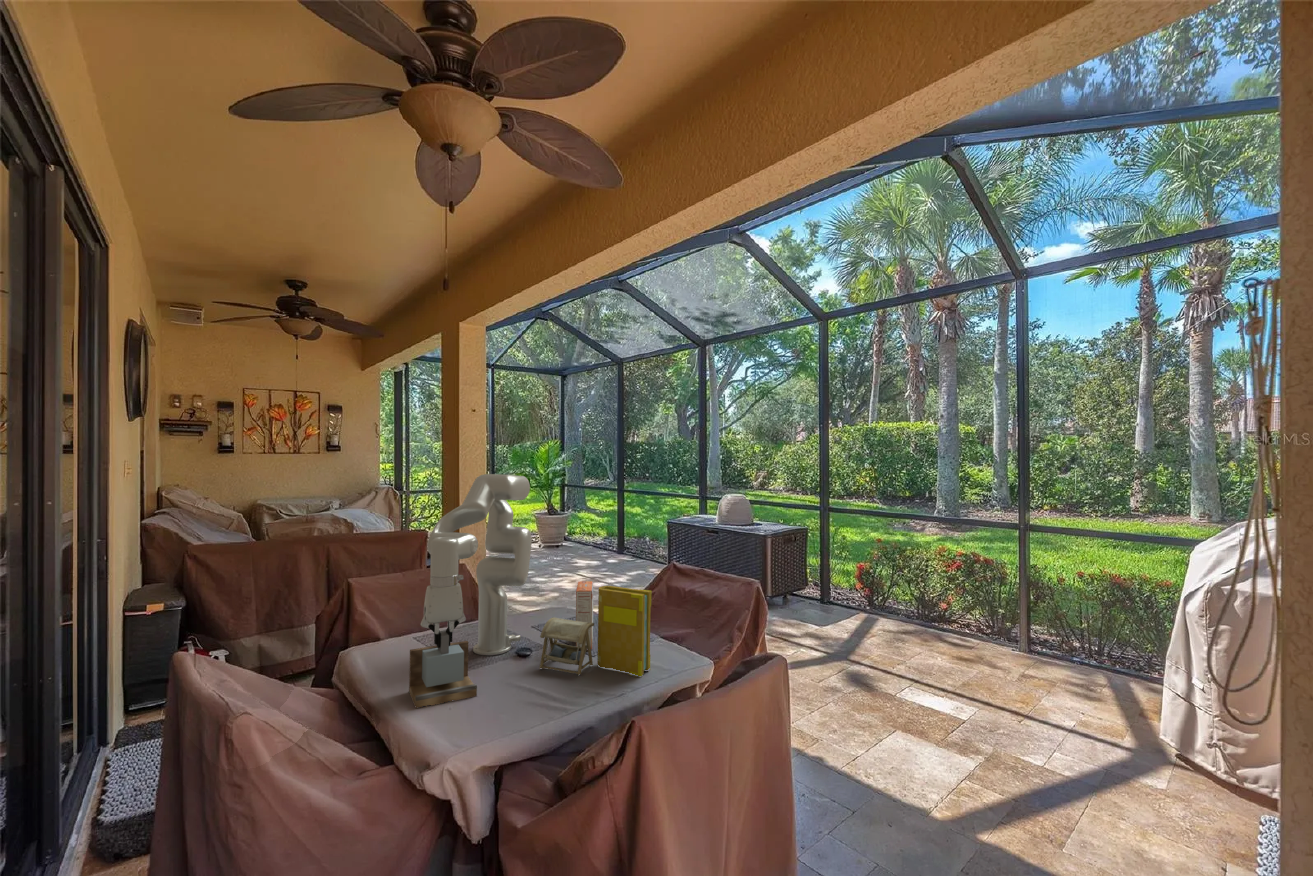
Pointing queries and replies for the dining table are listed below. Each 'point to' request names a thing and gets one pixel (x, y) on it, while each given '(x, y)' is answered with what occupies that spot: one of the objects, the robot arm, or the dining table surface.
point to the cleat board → (439, 692)
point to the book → (624, 629)
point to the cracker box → (585, 606)
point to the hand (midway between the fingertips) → (443, 645)
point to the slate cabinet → (442, 663)
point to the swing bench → (566, 653)
